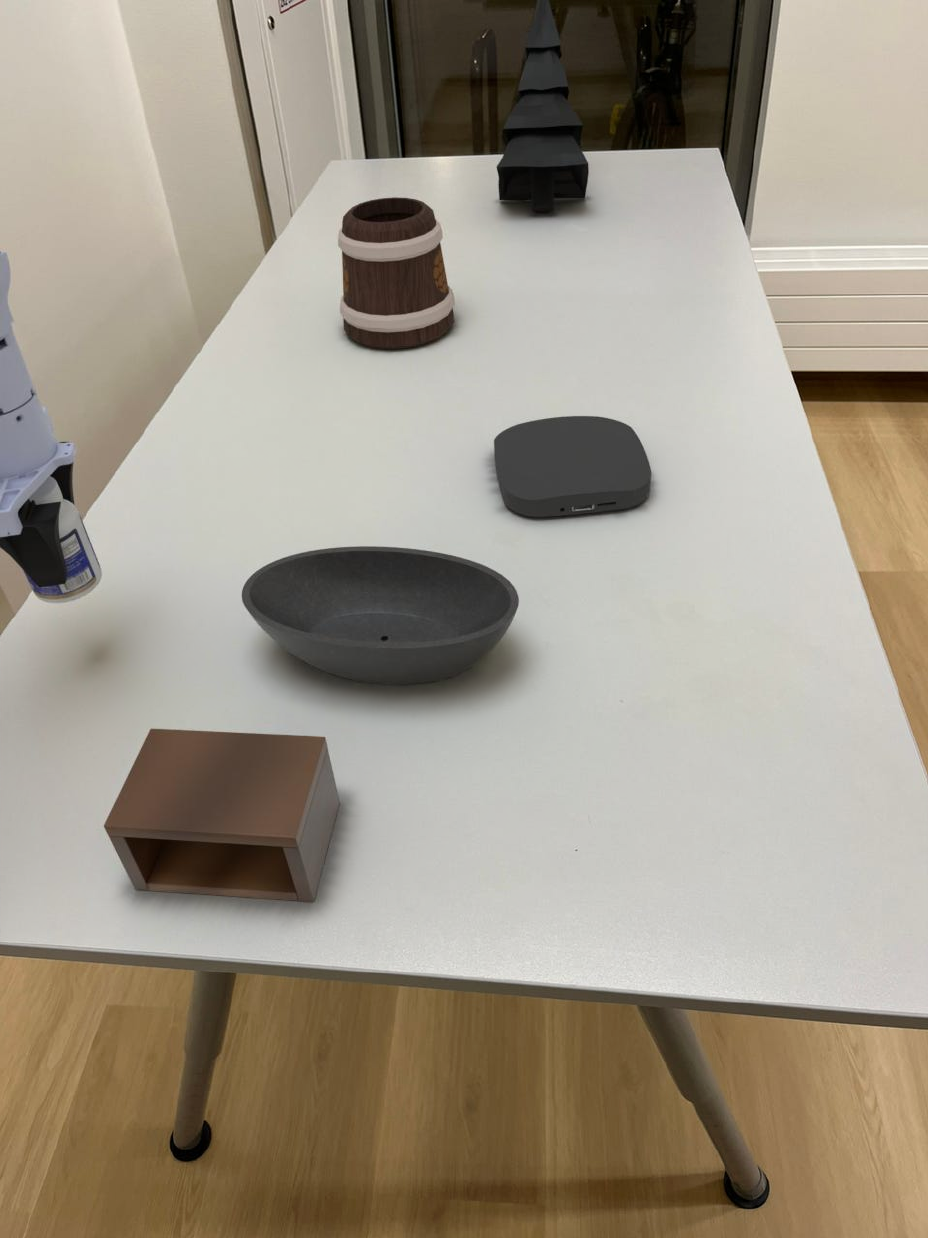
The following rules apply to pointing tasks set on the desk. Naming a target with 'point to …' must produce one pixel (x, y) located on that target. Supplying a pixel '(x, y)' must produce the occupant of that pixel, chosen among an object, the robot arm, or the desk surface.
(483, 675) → the desk surface
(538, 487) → the media streaming box
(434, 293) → the mug
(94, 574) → the pill bottle
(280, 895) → the shelf
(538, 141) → the decorative tree
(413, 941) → the desk surface
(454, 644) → the bowl
